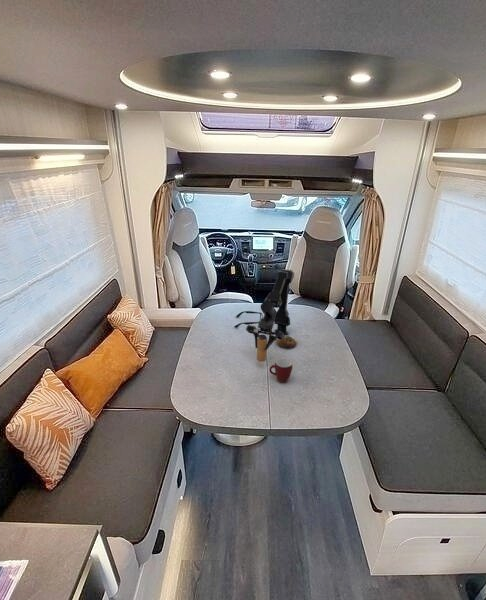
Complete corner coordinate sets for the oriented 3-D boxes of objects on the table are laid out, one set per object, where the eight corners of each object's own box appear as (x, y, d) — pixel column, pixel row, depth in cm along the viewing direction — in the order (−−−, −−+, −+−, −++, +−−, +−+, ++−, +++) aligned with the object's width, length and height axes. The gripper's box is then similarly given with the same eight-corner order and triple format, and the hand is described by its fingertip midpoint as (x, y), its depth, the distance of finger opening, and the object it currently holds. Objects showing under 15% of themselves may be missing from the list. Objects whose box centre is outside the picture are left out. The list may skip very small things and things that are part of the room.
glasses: (262, 330, 194) (263, 323, 192) (234, 328, 193) (234, 321, 191) (262, 318, 209) (263, 311, 207) (236, 316, 209) (236, 309, 207)
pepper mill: (255, 357, 157) (256, 334, 151) (264, 355, 158) (265, 333, 153) (258, 362, 152) (259, 339, 147) (267, 360, 154) (268, 338, 148)
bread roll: (282, 350, 171) (282, 341, 170) (273, 342, 181) (273, 334, 180) (299, 347, 176) (300, 338, 174) (290, 340, 186) (290, 332, 184)
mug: (268, 384, 145) (269, 366, 141) (269, 374, 152) (269, 356, 148) (291, 386, 144) (293, 368, 140) (290, 375, 151) (292, 357, 147)
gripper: (247, 310, 152) (238, 340, 147) (284, 317, 146) (276, 349, 141) (252, 317, 162) (244, 346, 157) (287, 324, 156) (280, 354, 151)
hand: (260, 349), depth 151 cm, fingers closed on pepper mill, 5 cm apart
